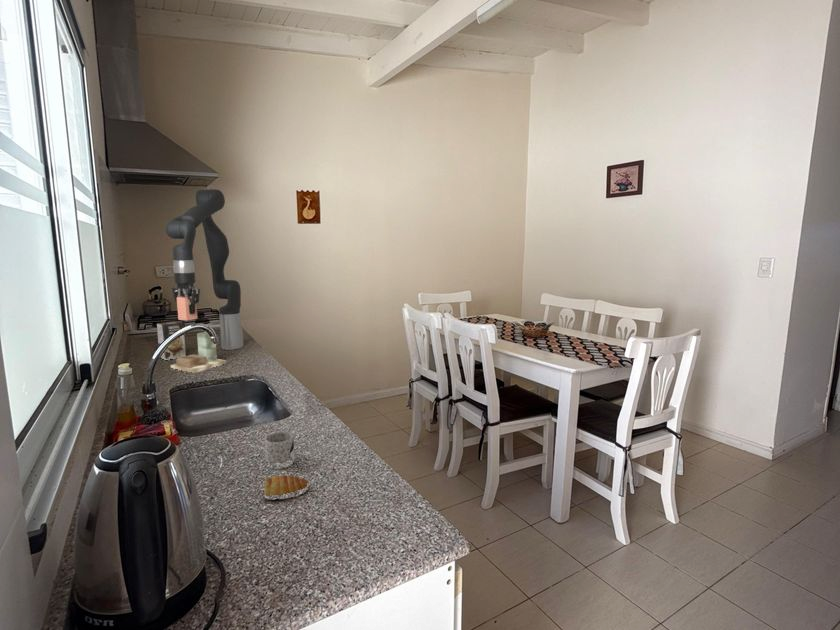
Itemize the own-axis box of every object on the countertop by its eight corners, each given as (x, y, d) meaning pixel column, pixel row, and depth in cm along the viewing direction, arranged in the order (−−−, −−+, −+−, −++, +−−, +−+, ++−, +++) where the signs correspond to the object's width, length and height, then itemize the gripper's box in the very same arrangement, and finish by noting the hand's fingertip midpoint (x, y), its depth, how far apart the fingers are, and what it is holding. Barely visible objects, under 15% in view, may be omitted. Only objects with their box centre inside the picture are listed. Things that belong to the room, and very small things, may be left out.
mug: (297, 465, 115) (296, 439, 114) (269, 472, 112) (268, 445, 111) (287, 449, 124) (286, 425, 123) (260, 455, 121) (259, 430, 120)
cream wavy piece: (203, 359, 212) (201, 329, 210) (226, 363, 206) (224, 332, 204) (170, 368, 198) (168, 336, 196) (194, 373, 192) (191, 340, 190)
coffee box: (166, 361, 210) (162, 324, 207) (159, 358, 213) (155, 323, 211) (186, 357, 217) (183, 321, 214) (179, 354, 221) (176, 320, 218)
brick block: (189, 317, 199) (187, 296, 197) (197, 318, 197) (195, 296, 195) (178, 319, 194) (176, 297, 193) (186, 320, 192) (184, 298, 191)
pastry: (307, 482, 108) (307, 467, 107) (309, 498, 101) (309, 481, 101) (264, 488, 105) (263, 472, 105) (263, 505, 99) (262, 488, 98)
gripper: (204, 271, 192) (207, 313, 195) (180, 270, 199) (183, 310, 202) (188, 272, 186) (191, 316, 189) (163, 271, 192) (167, 313, 195)
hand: (187, 313), depth 195 cm, fingers closed on brick block, 5 cm apart
